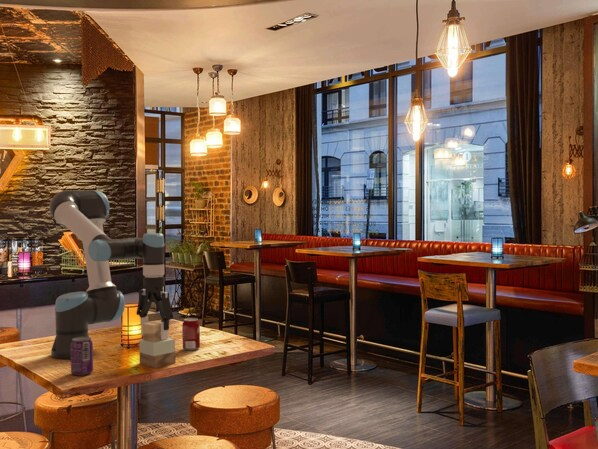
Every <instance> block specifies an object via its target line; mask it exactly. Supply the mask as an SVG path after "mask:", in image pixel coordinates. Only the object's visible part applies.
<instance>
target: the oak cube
mask: <svg viewBox="0 0 598 449" xmlns="http://www.w3.org/2000/svg"><path fill="white" fill-rule="evenodd" d="M142 337H143V338H142V339H143V340H146V341H151V342H157V341H161V320H160V321H159V320H153V321H149V322H147V323H143V336H142ZM163 340H166V339H163Z"/></svg>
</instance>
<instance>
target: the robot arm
mask: <svg viewBox="0 0 598 449" xmlns="http://www.w3.org/2000/svg"><path fill="white" fill-rule="evenodd" d="M48 208H49V213H50V215H51V217H52V218H53V220H55V221H56V222H57V223H58V224H59V225H64V226H65V227H66V228H67V229H68V230H69V231H70V232H72V234H74V235H75V236H76V237H77V238H78V239H79V240H80V241H81V243H82V247H83V252H84V254H83V255H84V260H85V265H86V273H87V279H88V285H89V286H88V288H87V289H86V291H75V292H74V291H73V292H68V293H64V294H61V295H59V296H58V297H57V298H56V300H55V306H54V311H55V314H54V315H55V336H54V341H53V343H52V346H51V351H50V352H51V355H50V356H51V358H53V359H58V360H59V359H60V360H61V359H62V360H71V343H72V339H73V338H76V337H90V335H89V325H94V324H95V325H96V324H102V323H109V322H112V321H117V320H119V319H120V318H121V317H122V315H123V313H124V312H125V307H126V301H125V297H124V294H123V292H122V291H120V290H118V289H117V285H115V284H114V283H113V282H112V277H111V270H110V264H109V261H116V260H117V261H118V260H131V259H142V275H143V278H142V279H143V282H142V283H143V289H139V298H138V303H137V308H136V313H135V314H136V315H137V316H139V318H140V329H141V331H140V333H141V336H142V337H143V323H147V322H150V321H149V312H150V309H151V306H152V304H153V303H154V304H155V306H156V307H157V310H158V313H159V314H160V317H161V320H160V322H161V340H163V339H168V338H169V330H170V321H171V320H173V319H174V314H173V310H172V305H171V301H170V292H169V291H164V290H163V287H165V284H166V283H165V282H166V281H165V280H166V279H165V276H164V275H165V246H166V244H165V237H164V234H163V233H159V232H149V233H144V234H143V235H142V238H141V237H135V236H134V237H128V238H111V237H109V236H108V235H107V234H106V233H105V232H104V227H103V225H104V224H105V223H106V221H107V220H106V218H107V217H108V216H109V214H110V208H111V207H110V201H109V199H108V197H107V196H106V194H105V193H103V192H102V191H100V190H93V189H87V190H86V189H84V190H83V189H79V190H78V189H77V190H76V189H73V190H72V189H64V190H61V191H59V192H57V193H55V195H54V196H53V197H52V198H51V199H50V202H49V207H48ZM123 307H124V308H123Z"/></svg>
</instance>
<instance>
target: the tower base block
mask: <svg viewBox="0 0 598 449" xmlns="http://www.w3.org/2000/svg"><path fill="white" fill-rule="evenodd" d="M175 363H176V351H175V352H172V353H167V354H162V355H158V356H151V355H148V354H144V353H141V352H140V351H139V364H140V365H142V366H147V367H151V368H153V369H155V368H161V367H164V366H168V365H172V364H175Z"/></svg>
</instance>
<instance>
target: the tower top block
mask: <svg viewBox="0 0 598 449" xmlns="http://www.w3.org/2000/svg"><path fill="white" fill-rule="evenodd" d="M138 341H139V353H140V352H141V353H144V354H148V355H151V356H158V355H162V354H167V353H172V352H175V353H176V339H174V338H171V337H168V339H166V340H161V341H157V342H151V341H146V340H143V338H142V339H139V340H138Z"/></svg>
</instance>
